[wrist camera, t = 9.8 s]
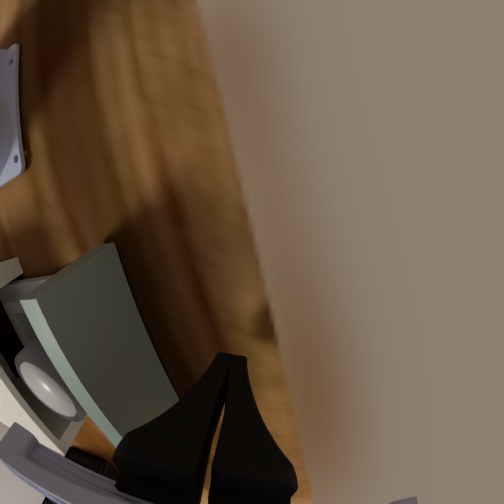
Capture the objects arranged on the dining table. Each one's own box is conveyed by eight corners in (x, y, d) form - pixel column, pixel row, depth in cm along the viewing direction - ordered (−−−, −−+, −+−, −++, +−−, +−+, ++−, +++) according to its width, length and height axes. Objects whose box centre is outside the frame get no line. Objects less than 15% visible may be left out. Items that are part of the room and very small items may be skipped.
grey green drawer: (-5, 269, 15) (-56, 304, 9) (114, 242, 13) (35, 299, 8) (63, 397, 19) (34, 440, 14) (188, 416, 18) (167, 484, 12)
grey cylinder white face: (36, 317, 15) (2, 349, 11) (88, 318, 14) (50, 360, 10) (70, 376, 17) (45, 412, 13) (124, 385, 16) (99, 430, 12)
